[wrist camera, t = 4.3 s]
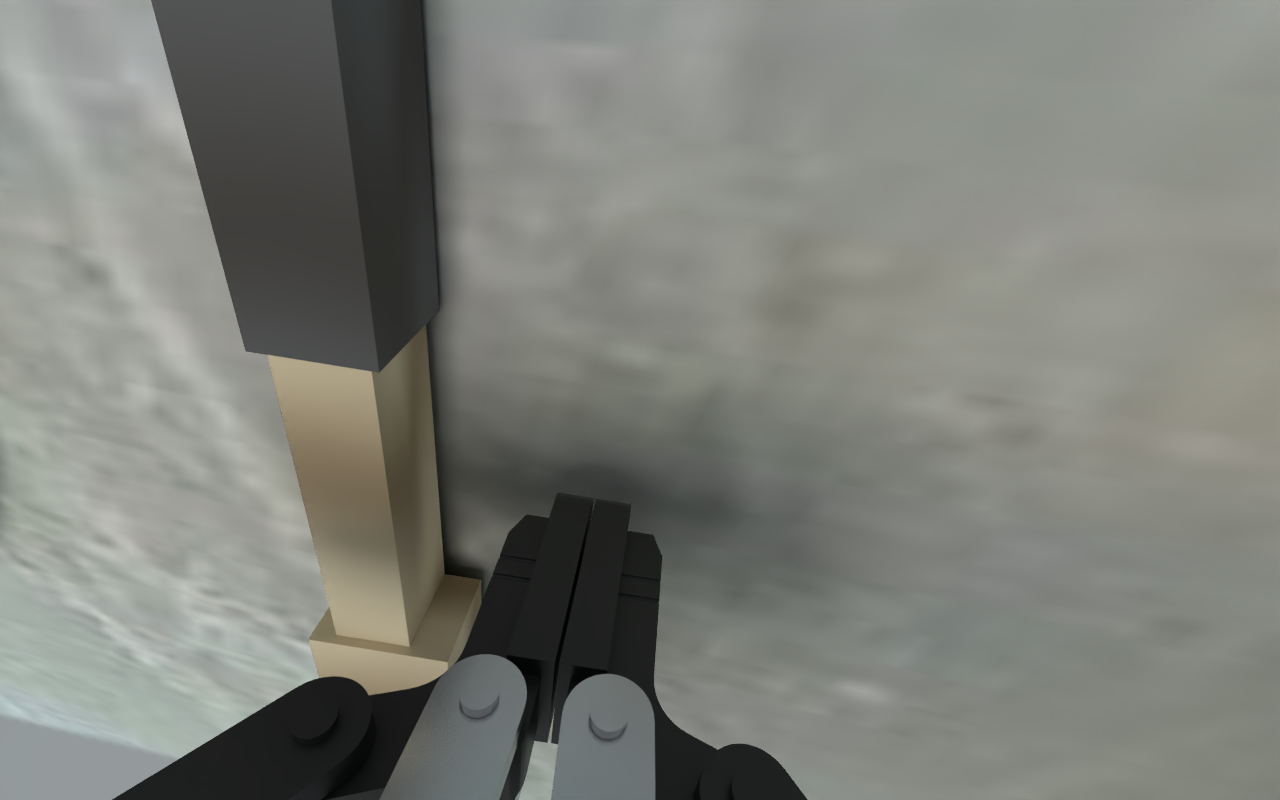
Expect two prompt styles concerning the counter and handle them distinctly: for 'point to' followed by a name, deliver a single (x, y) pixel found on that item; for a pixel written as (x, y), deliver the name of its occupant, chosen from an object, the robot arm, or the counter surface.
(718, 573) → the counter surface
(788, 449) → the counter surface
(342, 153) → the tong arm
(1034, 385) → the counter surface
